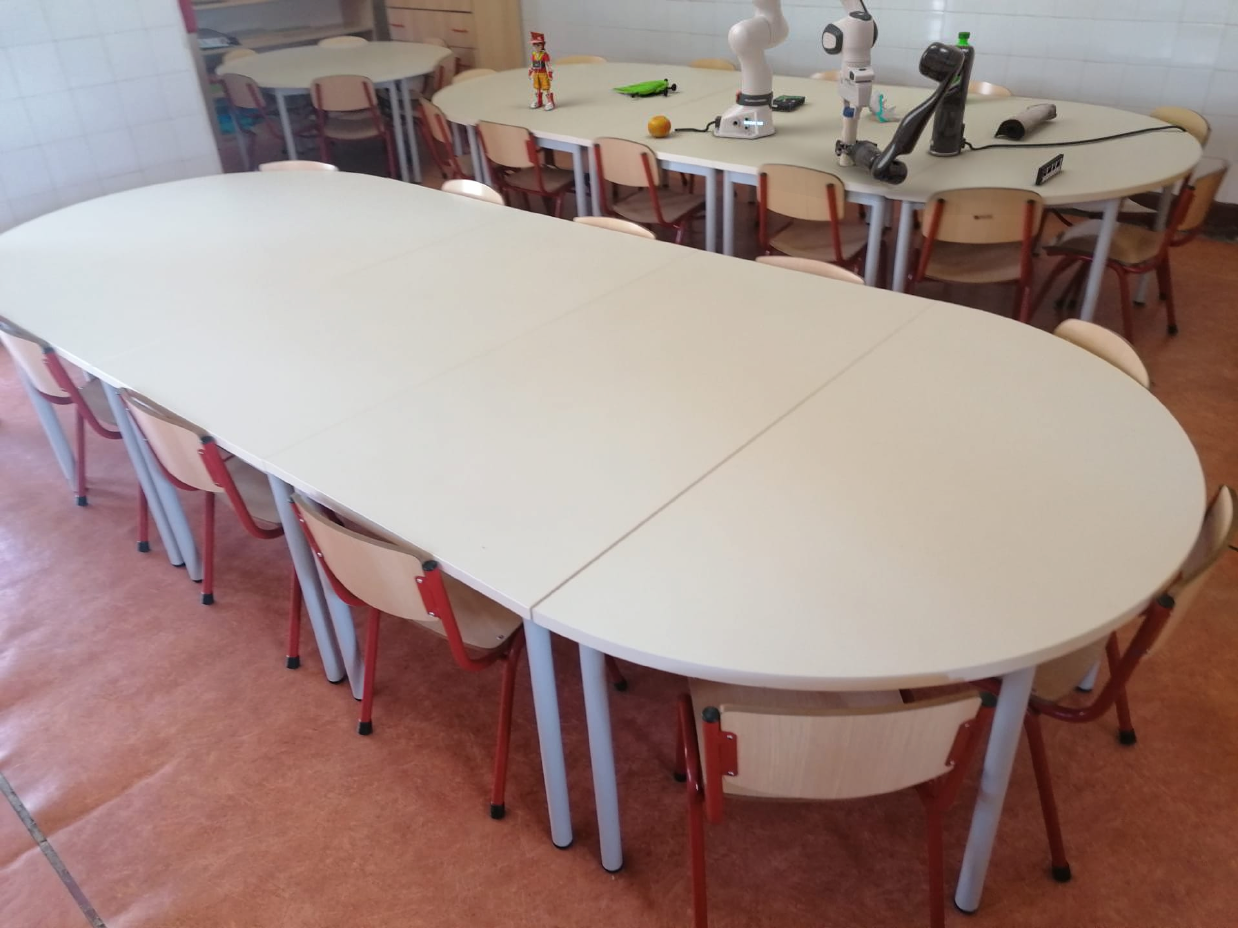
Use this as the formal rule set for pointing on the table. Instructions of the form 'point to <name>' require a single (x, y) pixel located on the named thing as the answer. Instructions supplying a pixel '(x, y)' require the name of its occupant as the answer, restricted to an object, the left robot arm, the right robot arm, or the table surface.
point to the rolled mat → (1026, 121)
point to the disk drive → (787, 102)
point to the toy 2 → (648, 88)
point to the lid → (848, 112)
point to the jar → (848, 138)
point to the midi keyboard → (1049, 169)
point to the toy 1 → (541, 71)
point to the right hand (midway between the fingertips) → (845, 142)
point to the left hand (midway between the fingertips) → (851, 116)
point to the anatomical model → (881, 108)
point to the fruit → (659, 126)
